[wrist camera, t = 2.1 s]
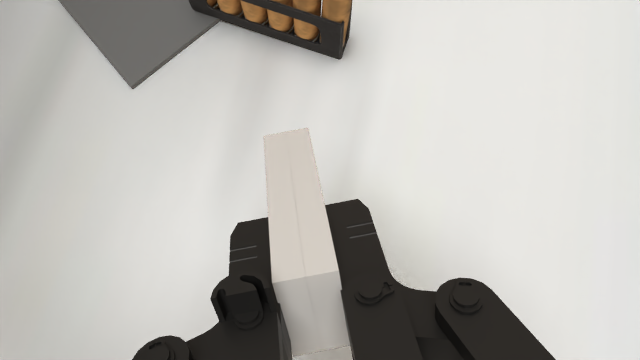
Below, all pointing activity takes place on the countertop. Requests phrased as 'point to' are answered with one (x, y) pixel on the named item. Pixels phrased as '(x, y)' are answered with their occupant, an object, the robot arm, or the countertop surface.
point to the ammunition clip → (288, 20)
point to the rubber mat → (139, 31)
